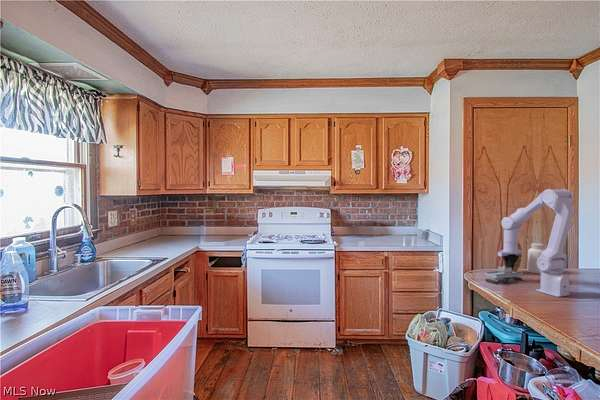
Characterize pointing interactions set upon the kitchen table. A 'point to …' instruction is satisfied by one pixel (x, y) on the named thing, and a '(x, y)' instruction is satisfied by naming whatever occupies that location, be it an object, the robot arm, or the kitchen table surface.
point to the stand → (504, 280)
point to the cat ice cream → (517, 260)
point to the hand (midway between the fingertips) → (509, 270)
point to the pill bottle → (534, 257)
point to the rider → (504, 269)
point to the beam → (498, 275)
